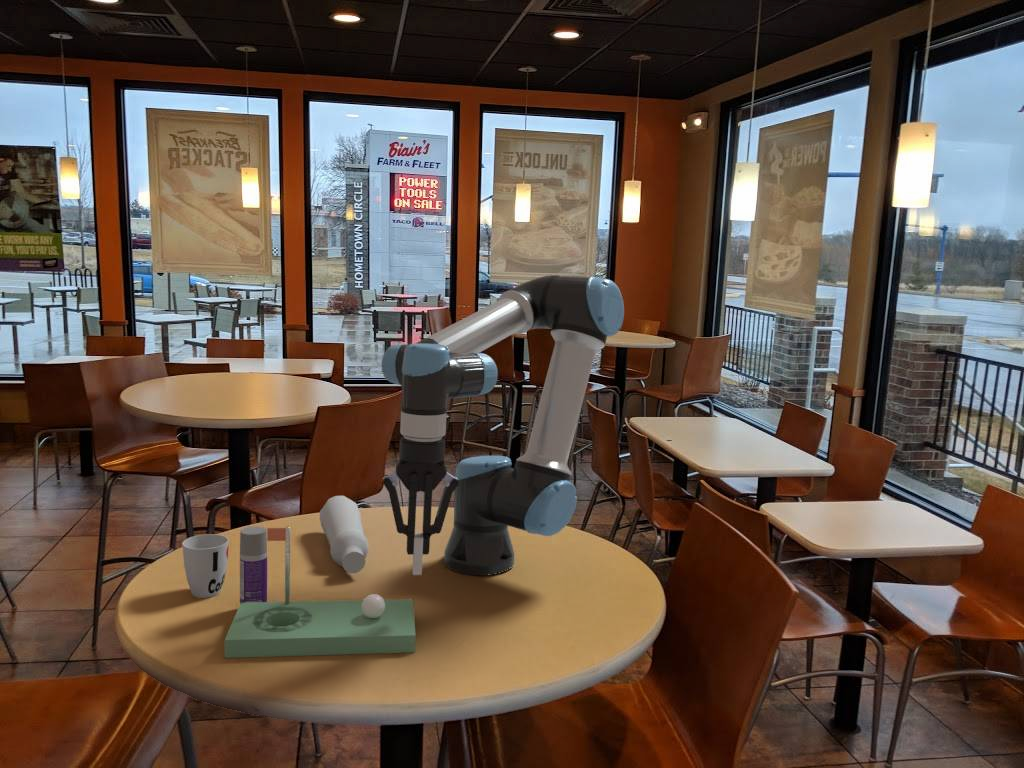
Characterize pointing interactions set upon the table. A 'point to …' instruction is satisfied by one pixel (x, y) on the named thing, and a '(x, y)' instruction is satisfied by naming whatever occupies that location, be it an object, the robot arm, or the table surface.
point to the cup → (205, 563)
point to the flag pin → (284, 535)
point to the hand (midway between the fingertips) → (416, 571)
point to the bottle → (344, 533)
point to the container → (253, 564)
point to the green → (319, 629)
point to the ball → (373, 606)
